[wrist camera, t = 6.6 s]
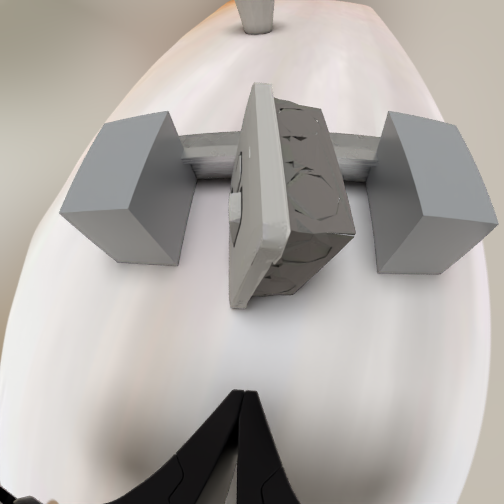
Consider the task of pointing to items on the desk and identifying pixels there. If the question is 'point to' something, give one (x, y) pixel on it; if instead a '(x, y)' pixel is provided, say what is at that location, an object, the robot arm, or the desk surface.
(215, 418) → the robot arm
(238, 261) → the electrical switch
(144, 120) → the mounted modules
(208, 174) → the rail
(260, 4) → the cup
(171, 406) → the desk surface
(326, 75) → the desk surface
